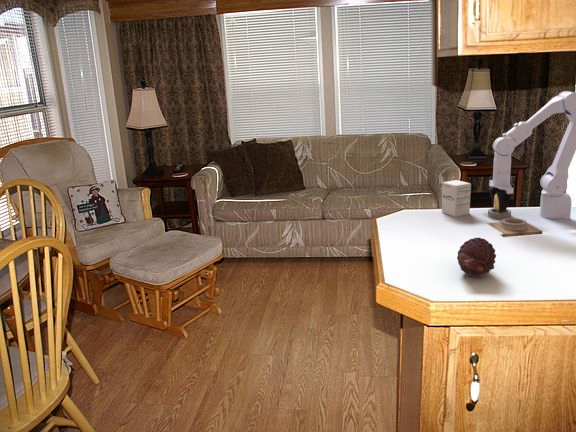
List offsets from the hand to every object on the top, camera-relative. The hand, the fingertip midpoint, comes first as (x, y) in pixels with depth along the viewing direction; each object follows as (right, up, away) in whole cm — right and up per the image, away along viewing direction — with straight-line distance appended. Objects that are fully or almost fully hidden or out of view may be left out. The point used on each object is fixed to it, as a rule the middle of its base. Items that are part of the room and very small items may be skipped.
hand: (499, 209), depth 197 cm
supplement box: (-13, -3, +8) cm, 16 cm away
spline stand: (0, -3, +1) cm, 4 cm away
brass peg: (0, -2, +1) cm, 3 cm away
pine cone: (-25, -18, -47) cm, 56 cm away
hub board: (0, -7, -12) cm, 14 cm away
